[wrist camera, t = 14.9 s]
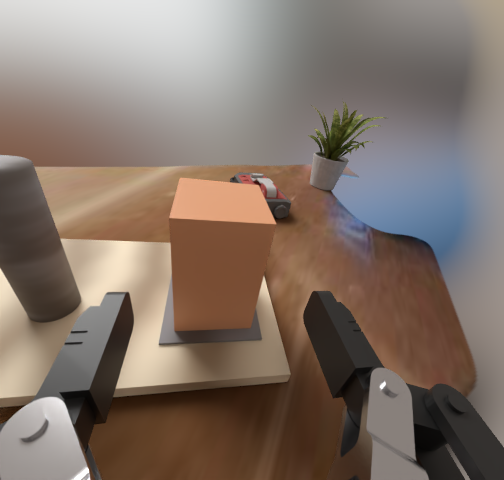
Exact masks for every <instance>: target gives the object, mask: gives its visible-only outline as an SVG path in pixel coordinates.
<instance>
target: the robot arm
mask: <svg viewBox="0 0 504 480" xmlns="http://www.w3.org/2000/svg"><path fill="white" fill-rule="evenodd" d="M303 319H304V324H305V327H306V330H307V332H308V335H309V337H310V340H311V343H312V345H313V348H314V350H315V353H316V355H317V358H318V361H319V363H320V366H321V368H322V371H323V373H324V376H325V379H326V381H327V384H328V386H329V389H330V391H331V394H332V397H333V398H339V397H343V399H344V401H345V403H346V404H345V405H344V408H343V414H342V420H341V425H340V431H339V437H338V443H337V449H336V454H335V459H334V462H333V464H332V466H331V468H330V471H329V474H328V477H327V480H465V479H464V477H463V475H462V474H461V472H460V470H459V469H458V467H457V465H456V463H455V462H454V460H453V458H452V457H451V455H450V453H449V452H448V450H447V448H446V447H445V445H446V444H447V443H448V444H449V445H450V447H451V448H452V450H453V452H454V453H455V455H456V456H457V458H458V460H459V462H460V463H461V465H462V466H463V468H464V470H465V471H466V473H467V475H468V476H469V478H470V480H504V447H503V446H502V445H501V443H500V442H499V441H498V439H497V438H496V437H495V435H494V434H493V433H492V431H491V430H490V429H489V427H488V426H487V425H486V423H485V422H484V421H483V420H482V418H481V417H480V415H479V414H478V413H477V411H476V410H475V409H474V408H473V406H472V405H471V403H470V402H469V401H468V400H467V399H466V398H465V397H464V396H463V395H462V394H461V393H460V392H458V391H457V390H455V389H454V388H452V387H450V386H448V385H445V384H436V385H434V386H433V387H432V388H431V389H430V390H428V389H425V388H421V387H417V386H414V385H410V384H407V383H405V382H404V381H403V380H402V379H401V378H400V377H399V376H398V375H397V374H396V373H394V372H393V371H391V370H389V369H386V368H384V366H383V365H382V363H381V362H380V360H379V359H378V357H377V355H376V354H375V352H374V350H373V349H372V347H371V345H370V344H369V342H368V340H367V339H366V337H365V335H364V334H363V332H361V329H360V327H359V325H358V324H357V323H356V320H355V319H354V317H353V315H352V314H351V312H350V311H349V310H348V309H347V308H346V307H345V306H344V305H343V304H342V303H341V302H337V301H336V299H335V298H334V296H333V294H332V293H331V292H330V291H313V292H312V294H311V296H310V299H309V301H308V303H307V306H306V308H305V311H304V315H303ZM133 326H134V314H133V309H132V303H131V298H130V294H129V292H107V293H106V294H105V296H104V298H103V300H102V302H101V304H100V306H90V307H89V308H88V309H87V310H86V311H85V312H83V313H82V314H81V315H80V316H79V317H78V318H77V320H76V322H75V324H74V326H73V328H72V330H71V333H70V334H69V335H68V337H67V339H66V341H65V344H64V346H62V348H61V350H60V352H59V354H58V356H57V358H56V359H55V361H54V363H53V365H52V367H51V369H50V371H49V372H48V374H47V376H46V378H45V380H44V382H43V384H42V386H41V387H40V389H39V391H38V393H37V394H36V396H35V397H34V398H33V400H32V401H31V402H30V403H29V404H27V405H26V406H24V407H23V408H21V409H20V410H19V411H18V412H16V413H15V414H14V415H13V416H12V417H11V418H10V419H9V420H8V421H6V422H4V423H2V424H0V480H103V477H102V474H101V472H100V469H99V467H98V464H97V461H96V459H95V456H94V454H93V451H92V448H91V446H90V443H89V439H90V436H91V433H92V430H93V427H94V424H101V423H106V419H107V416H108V412H109V409H110V406H111V402H112V399H113V395H114V392H115V389H116V385H117V382H118V378H119V375H120V372H121V368H122V365H123V362H124V358H125V355H126V351H127V348H128V345H129V341H130V338H131V334H132V331H133Z"/></svg>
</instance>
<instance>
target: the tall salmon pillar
mask: <svg viewBox="0 0 504 480" xmlns="http://www.w3.org/2000/svg"><path fill="white" fill-rule="evenodd" d="M169 222H170V244H171V267H172V289H173V311H174V331H192V330H218V329H243V328H251V325H252V321H253V317H254V313H255V309H256V305H257V301H258V297H259V293H260V289H261V285H262V281H263V277H264V273H265V269H266V265H267V261H268V257H269V252H270V248H271V244H272V240H273V236H274V232H275V228H276V222H275V220H274V218H273V215H272V213H271V211H270V209H269V207H268V204H267V202H266V200H265V198H264V196H263V194H262V191H261V189H260V187H259V185H252V184H241V183H231V182H220V181H209V180H199V179H188V178H180V180H179V183H178V187H177V191H176V195H175V198H174V202H173V206H172V210H171V214H170V217H169Z"/></svg>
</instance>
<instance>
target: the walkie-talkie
mask: <svg viewBox="0 0 504 480" xmlns="http://www.w3.org/2000/svg"><path fill="white" fill-rule="evenodd" d="M230 180H231V181H230V182H231V183H241V184H252V185H259V187H260V189H261V191H262V194H263V196H264V198H265V200H266V202H267V204H268V207H269V209H270V211H271V213H272V215H273V217H276V218H278V219H280V218H283V217H287V216H288V213H289V209H290V205H291V202H290V200H289V199H288V198H287V197H286V196H285V195H284V194H283V193H282V192H281V191H280V190H279V189H278V188H277V186H276V185H275V184H273V182H272V181H271V180H270V179H269V178H268V177H266V176H264V175H263V174H258V173H237V174H236V175H235V176H234V178H231V179H230Z"/></svg>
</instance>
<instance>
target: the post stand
mask: <svg viewBox="0 0 504 480" xmlns="http://www.w3.org/2000/svg"><path fill="white" fill-rule="evenodd" d="M107 292H129V294H130V298H131V303H132V309H133V314H134V326H133V331H132V334H131V338H130V341H129V345H128V348H127V351H126V355H125V358H124V362H123V365H122V368H121V372H120V375H119V378H118V382H117V385H116V389H115V392H114V395H113V397H122V396H133V395H145V394H156V393H167V392H178V391H189V390H201V389H212V388H223V387H234V386H246V385H257V384H268V383H279V382H287V381H288V379H289V377H290V375H291V373H290V369H289V366H288V362H287V358H286V355H285V351H284V347H283V344H282V340H281V336H280V333H279V329H278V325H277V322H276V318H275V314H274V311H273V307H272V303H271V300H270V296H269V292H268V289H267V285H266V281H265V278H264V277H263V281H262V285H261V289H260V293H259V297H258V301H257V305H256V309H255V313H254V317H253V321H252V325H251V328H243V329H218V330H192V331H174V311H173V289H172V267H171V244H170V243H156V242H130V241H104V240H78V239H60V237H59V234H58V231H57V229H56V226H55V223H54V220H53V218H52V215H51V212H50V209H49V207H48V204H47V201H46V198H45V195H44V193H43V190H42V187H41V184H40V182H39V179H38V176H37V173H36V171H35V168H34V165H33V163H32V161H31V160H29V159H26V158H23V157H17V156H7V155H6V156H5V155H0V407H10V406H21V405H27V404H29V403H30V402H31V401H32V400H33V398H34V397H35V396H36V394H37V393H38V391H39V389H40V387H41V386H42V384H43V382H44V380H45V378H46V376H47V374H48V372H49V371H50V369H51V367H52V365H53V363H54V361H55V359H56V358H57V356H58V354H59V352H60V350H61V348H62V346H64V344H65V341H66V339H67V337H68V335H69V334H70V333H71V330H72V328H73V326H74V324H75V322H76V320H77V318H78V317H79V316H80V315H81V314H82V313H83V312H85V311H86V310H87V309H88V308H89V307H90V306H100V304H101V302H102V300H103V298H104V296H105V294H106V293H107Z"/></svg>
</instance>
